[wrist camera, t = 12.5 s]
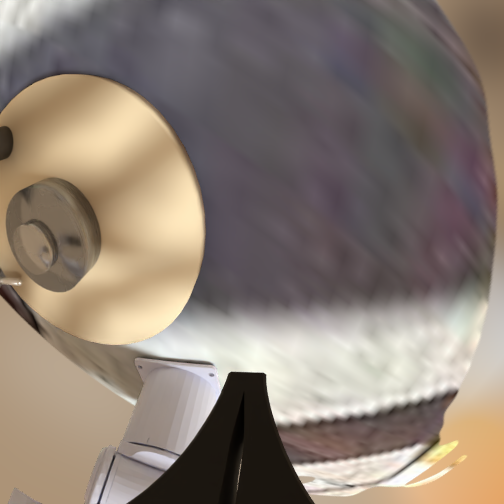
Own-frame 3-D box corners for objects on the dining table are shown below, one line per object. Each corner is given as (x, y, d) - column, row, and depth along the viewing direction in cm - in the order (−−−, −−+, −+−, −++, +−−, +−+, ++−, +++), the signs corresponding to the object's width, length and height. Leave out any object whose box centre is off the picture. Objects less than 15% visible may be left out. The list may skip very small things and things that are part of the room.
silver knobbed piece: (47, 271, 21) (11, 307, 16) (5, 268, 22) (-28, 298, 17) (38, 242, 20) (-3, 276, 15) (-4, 244, 21) (-39, 272, 16)
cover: (121, 243, 16) (95, 270, 13) (68, 289, 18) (45, 315, 16) (56, 154, 14) (21, 167, 11) (14, 217, 16) (-14, 236, 13)
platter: (270, 266, 18) (268, 326, 13) (91, 355, 24) (67, 397, 19) (92, 15, 11) (35, -2, 6) (-29, 196, 17) (-69, 220, 12)
